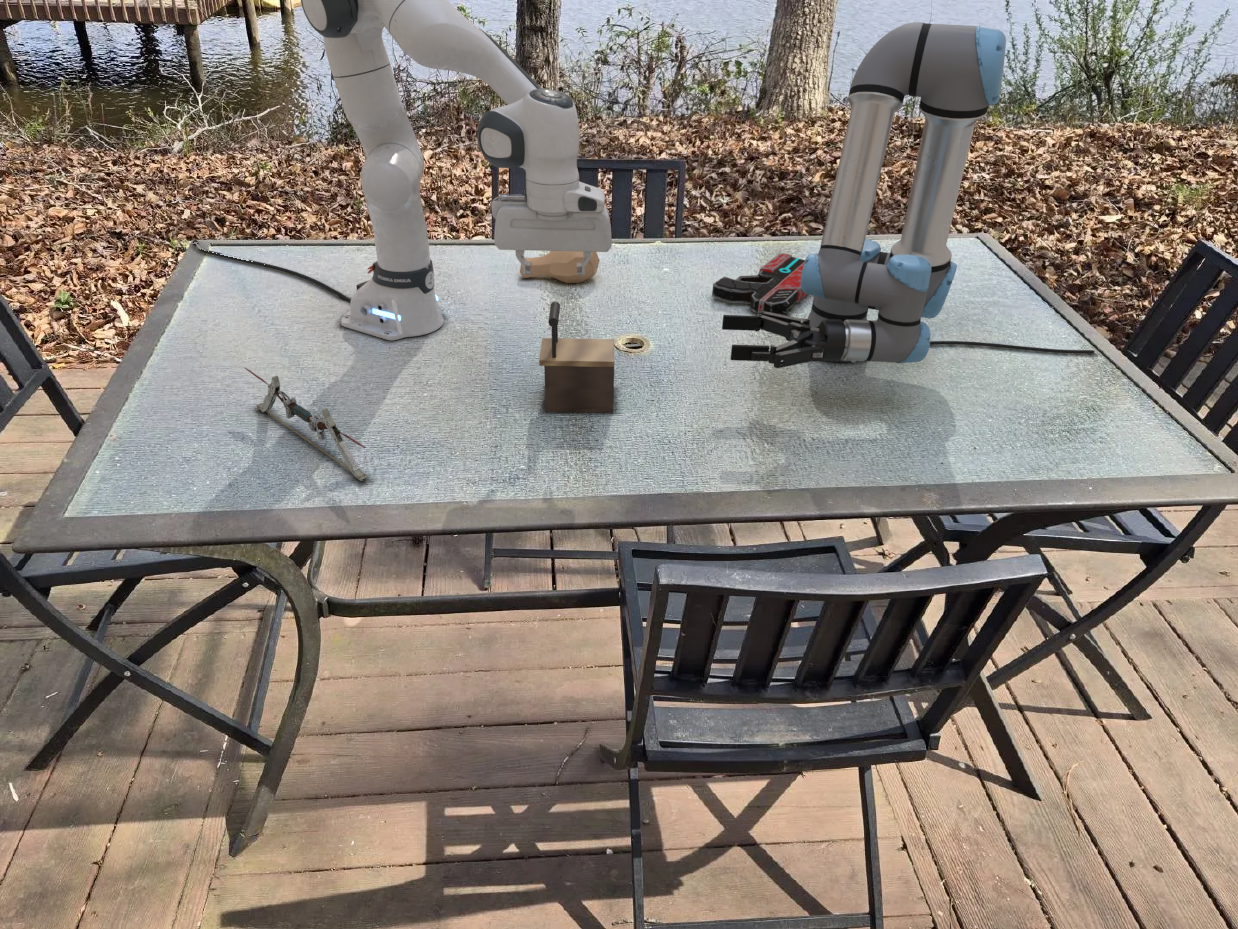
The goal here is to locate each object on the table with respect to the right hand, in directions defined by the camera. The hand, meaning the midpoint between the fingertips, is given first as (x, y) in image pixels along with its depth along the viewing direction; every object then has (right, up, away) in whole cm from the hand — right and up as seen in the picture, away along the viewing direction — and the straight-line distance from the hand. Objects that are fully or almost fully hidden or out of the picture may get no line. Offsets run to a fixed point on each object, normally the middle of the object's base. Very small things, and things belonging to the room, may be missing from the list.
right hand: (726, 336), depth 161 cm
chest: (-27, -11, +8) cm, 31 cm away
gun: (+18, +19, +56) cm, 62 cm away
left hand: (-31, +10, -6) cm, 33 cm away
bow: (-74, -20, -7) cm, 77 cm away
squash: (-35, +23, +59) cm, 72 cm away
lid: (-28, -3, +3) cm, 28 cm away
